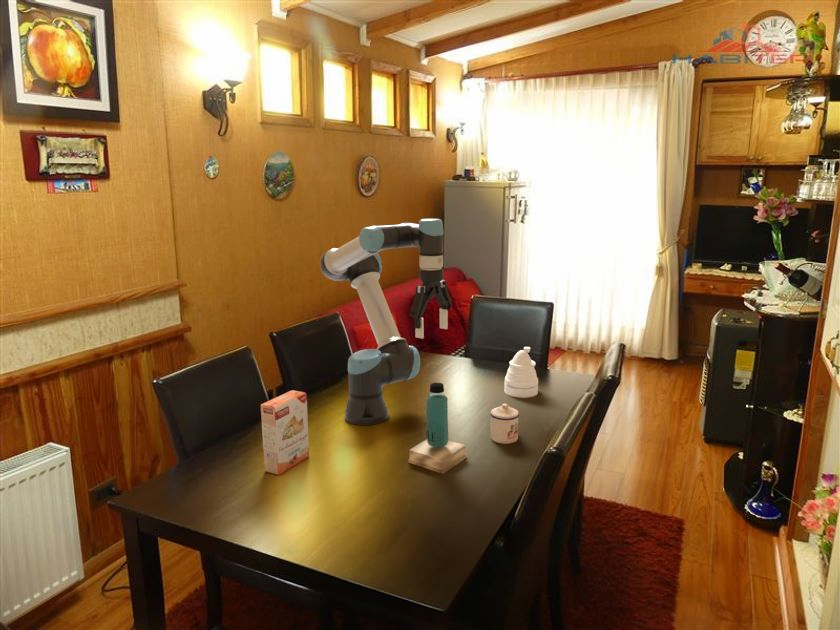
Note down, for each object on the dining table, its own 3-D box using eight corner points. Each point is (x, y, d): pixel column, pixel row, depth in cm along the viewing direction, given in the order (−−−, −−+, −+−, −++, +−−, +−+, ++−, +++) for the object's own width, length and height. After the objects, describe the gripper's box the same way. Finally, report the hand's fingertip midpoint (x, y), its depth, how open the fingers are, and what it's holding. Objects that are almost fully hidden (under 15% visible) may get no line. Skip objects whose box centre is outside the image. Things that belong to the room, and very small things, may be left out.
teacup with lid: (511, 446, 195) (512, 412, 192) (485, 440, 199) (485, 406, 197) (526, 432, 205) (527, 399, 202) (500, 427, 209) (501, 394, 207)
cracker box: (279, 476, 178) (275, 407, 173) (263, 472, 181) (258, 404, 176) (311, 456, 190) (307, 391, 185) (295, 452, 193) (291, 388, 188)
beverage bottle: (451, 444, 187) (451, 381, 183) (443, 454, 182) (442, 389, 177) (432, 441, 190) (431, 378, 185) (422, 450, 184) (422, 386, 180)
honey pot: (543, 389, 244) (544, 345, 240) (530, 399, 233) (531, 353, 229) (512, 383, 251) (513, 340, 246) (498, 393, 240) (499, 348, 236)
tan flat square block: (408, 462, 185) (407, 450, 184) (432, 447, 195) (432, 435, 194) (443, 474, 178) (443, 461, 177) (466, 457, 188) (466, 445, 187)
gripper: (417, 275, 186) (418, 343, 191) (462, 264, 205) (462, 326, 210) (397, 272, 190) (399, 340, 195) (443, 262, 210) (443, 323, 215)
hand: (431, 333), depth 203 cm, fingers open, 13 cm apart
